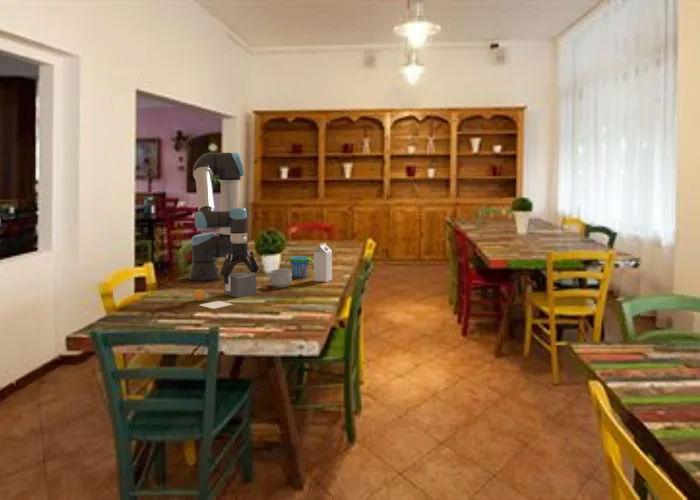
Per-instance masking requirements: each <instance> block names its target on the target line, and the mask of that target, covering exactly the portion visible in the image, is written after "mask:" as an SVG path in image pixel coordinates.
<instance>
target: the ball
mask: <svg viewBox="0 0 700 500" xmlns="http://www.w3.org/2000/svg"><path fill="white" fill-rule="evenodd" d="M192 297H193V299H194V300H195V301H196V302H201V301H203V300H204V299H205V297H206V293H205V291H204V290H203V289H200V288H199V289H195V290H194V291H193V293H192Z"/></svg>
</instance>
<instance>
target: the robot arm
mask: <svg viewBox="0 0 700 500" xmlns="http://www.w3.org/2000/svg"><path fill="white" fill-rule="evenodd" d="M244 170H245V169H244V165H243V159H242V155H240V153H239V152H238V153H237V152H207V153H204V154H202V155H201V156H200V157H199V158H198V159H196V161H195V163H194V165H193V168H192V176H193V179H194V180H195V186H196V187H195V188H196V197H197V210H198V211H195V213H194V226H195V228H196V229H217V228H218V229H219V228H220V230H219V231H218V234H217V235H216V234H215V232H203V233H198V234H196V235H193V236H192V237H191V263H192V264H191V268H190V271H189V278H188V279H189V280H191V281H197V282H198V281H199V282H203V281H204V282H205V281H214V280H217V279H220V276H222V277H223V284H224V283H225V284H226V291H229V292H230V291H231V281H230V277H229V275H230V274H232V271H233V270H234V268H235V266H236V265H238V264H241V263H244V265H245V266H246V268H247V269H248V270H249V271H250V272H249V273H248V274H253V275H256V273H258V271H260V268H259V265H258V263H257V262H256V258H255V257H254V251H251V250H249V248H248V246H249V245H248V214H247V212H248V211H247V208H245V207H239V182H240V181H241V180H242V179H241V177H243V176H244V175H245V173H244V172H245V171H244ZM213 177H217V181H218V182H219V183H220V209H221V210H220V211H219V210H218V211H216V207H215V197H214V190H213V189H214V187H213V180H212V179H213ZM248 250H249V251H248ZM218 258H224V259H225V260H224V262H223V264H222V267H221V269H220V270H221V271H220V272H219V269H218V267H217V264H216V259H218Z"/></svg>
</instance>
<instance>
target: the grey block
mask: <svg viewBox="0 0 700 500" xmlns="http://www.w3.org/2000/svg"><path fill="white" fill-rule="evenodd" d="M229 277H230V281H231V291H230V292H229V291H226V284H225V283H224V282H223V286H224V287H223V289H224V291H223V292H224V295H225V296H230V297H234V298H238V299H240V298H245V297H249V296H253V295H257V292H258V291H257V274H255V275H253V274H249V273H247V272H238V273H236V272H235V273H230V275H229Z"/></svg>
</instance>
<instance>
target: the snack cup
mask: <svg viewBox="0 0 700 500" xmlns="http://www.w3.org/2000/svg"><path fill="white" fill-rule="evenodd" d="M288 262H290V266H291V267H290V268H291V275H292V277H294V278H306V277H308V271H309V264H310V263H309V262H312V271H314V259H312V258H311V257H310V256H306V255H305V256H304V255H300V256H299V255H297V256H296V255H295V256H291V257H289V258H288V259H287V260H285V263H284V269H288V266H287V265H288Z"/></svg>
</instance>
